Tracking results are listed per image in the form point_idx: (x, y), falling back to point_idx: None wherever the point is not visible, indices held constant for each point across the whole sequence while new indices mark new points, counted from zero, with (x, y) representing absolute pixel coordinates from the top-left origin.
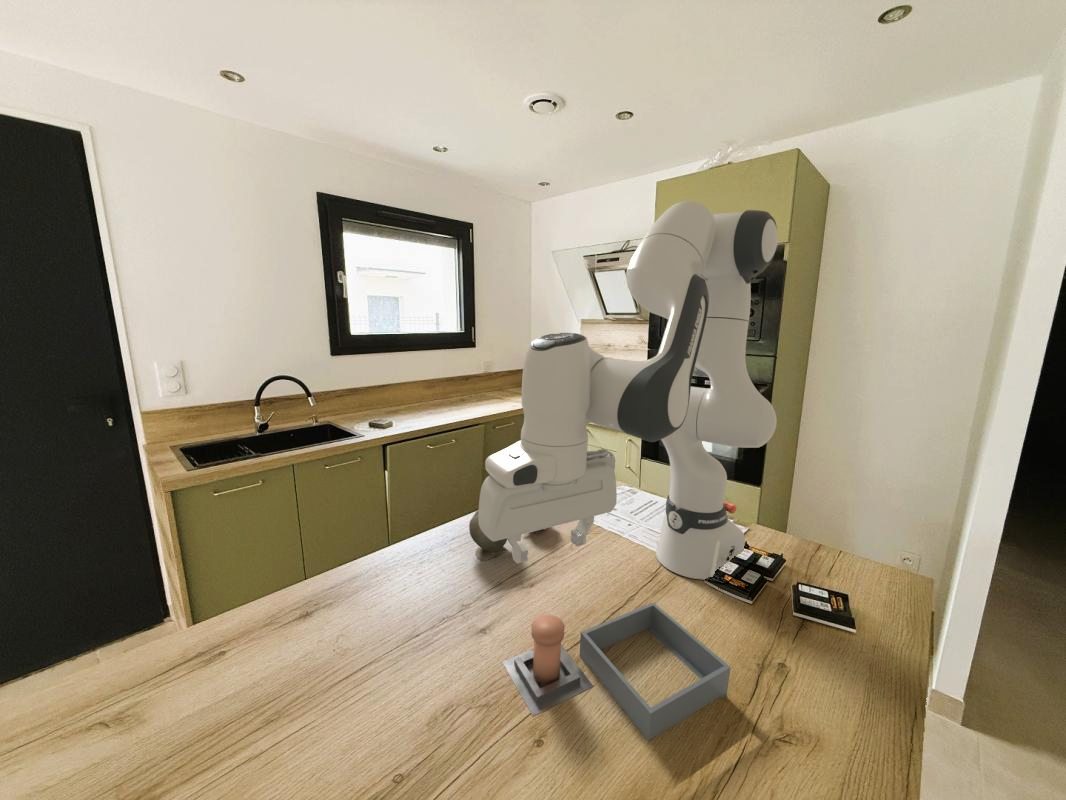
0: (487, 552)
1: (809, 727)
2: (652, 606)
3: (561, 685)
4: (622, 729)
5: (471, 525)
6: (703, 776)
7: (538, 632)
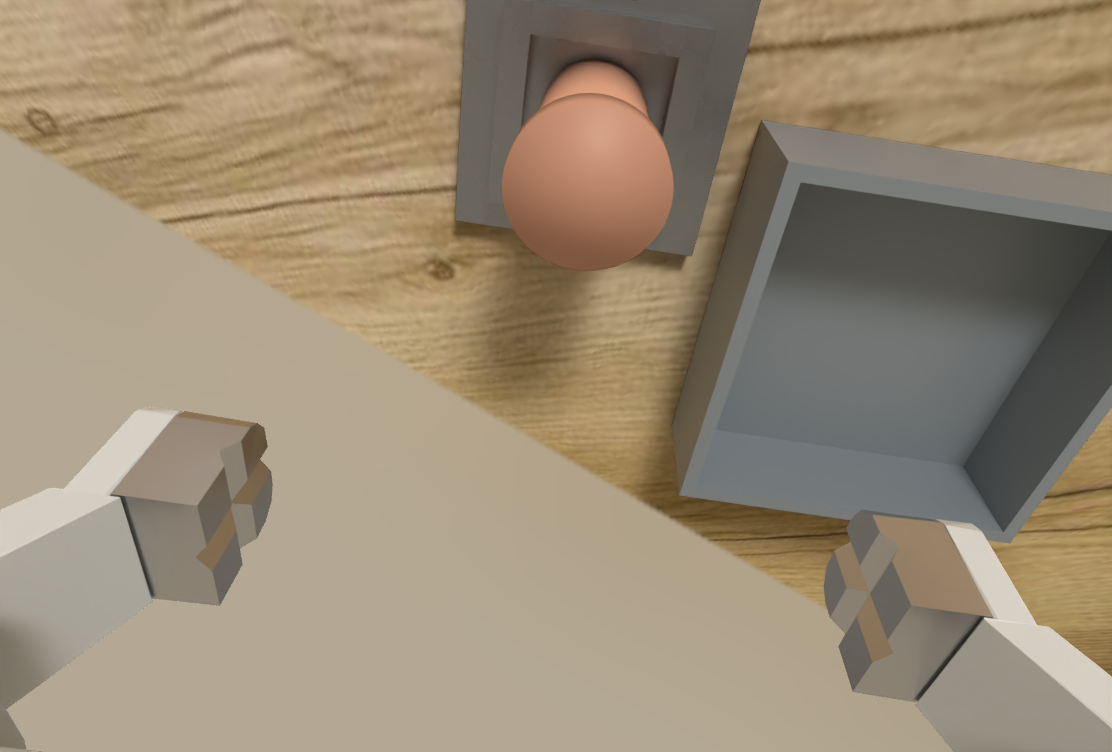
0: None
1: None
2: None
3: None
4: (657, 370)
5: None
6: (708, 514)
7: (519, 199)
